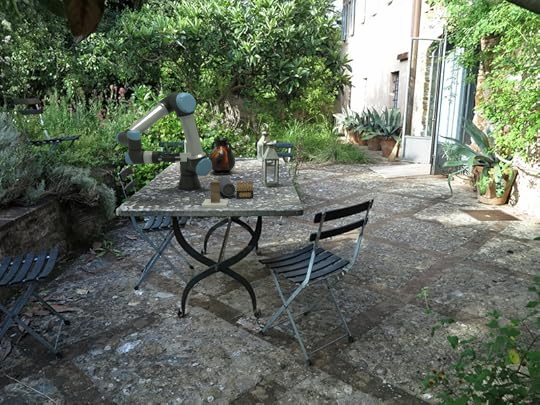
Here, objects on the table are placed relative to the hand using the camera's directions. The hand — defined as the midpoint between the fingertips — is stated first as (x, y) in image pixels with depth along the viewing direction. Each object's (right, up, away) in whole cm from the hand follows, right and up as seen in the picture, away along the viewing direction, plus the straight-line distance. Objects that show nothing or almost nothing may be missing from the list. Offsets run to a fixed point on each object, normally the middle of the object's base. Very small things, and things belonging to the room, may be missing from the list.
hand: (188, 157), depth 266 cm
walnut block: (+16, -26, 0) cm, 31 cm away
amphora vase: (+9, -4, +96) cm, 97 cm away
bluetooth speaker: (+19, -22, +26) cm, 39 cm away
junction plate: (+16, -28, 0) cm, 32 cm away
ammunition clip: (+32, -24, +15) cm, 43 cm away
